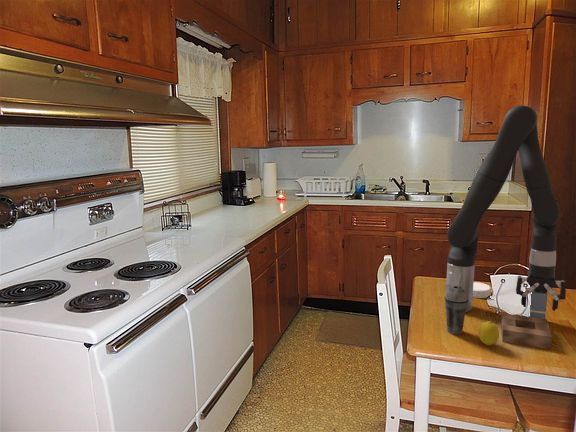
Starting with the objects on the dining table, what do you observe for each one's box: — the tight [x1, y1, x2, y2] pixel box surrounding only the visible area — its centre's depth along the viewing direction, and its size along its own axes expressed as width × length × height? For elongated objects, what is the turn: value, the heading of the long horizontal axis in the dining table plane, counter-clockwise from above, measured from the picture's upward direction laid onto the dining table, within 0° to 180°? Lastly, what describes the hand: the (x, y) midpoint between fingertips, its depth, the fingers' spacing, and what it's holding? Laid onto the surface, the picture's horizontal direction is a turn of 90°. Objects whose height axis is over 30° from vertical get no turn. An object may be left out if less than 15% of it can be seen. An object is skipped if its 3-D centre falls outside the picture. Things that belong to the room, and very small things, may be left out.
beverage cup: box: [444, 273, 468, 336], centre depth 137 cm, size 7×7×20 cm
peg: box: [528, 290, 549, 319], centre depth 143 cm, size 4×4×11 cm
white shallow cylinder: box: [473, 281, 492, 299], centre depth 170 cm, size 10×10×4 cm
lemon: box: [478, 320, 500, 347], centre depth 129 cm, size 6×6×8 cm
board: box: [500, 312, 553, 350], centre depth 134 cm, size 13×13×4 cm
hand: (538, 308), depth 143 cm, fingers open, 8 cm apart
